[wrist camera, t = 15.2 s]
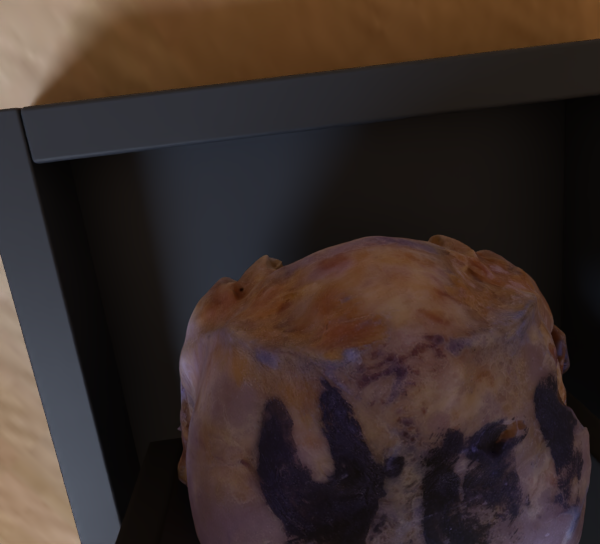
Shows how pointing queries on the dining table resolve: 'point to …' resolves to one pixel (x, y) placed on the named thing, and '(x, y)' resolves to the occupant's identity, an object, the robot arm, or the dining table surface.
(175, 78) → the dining table surface
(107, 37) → the dining table surface
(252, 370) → the skull
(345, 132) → the tray
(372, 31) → the dining table surface
